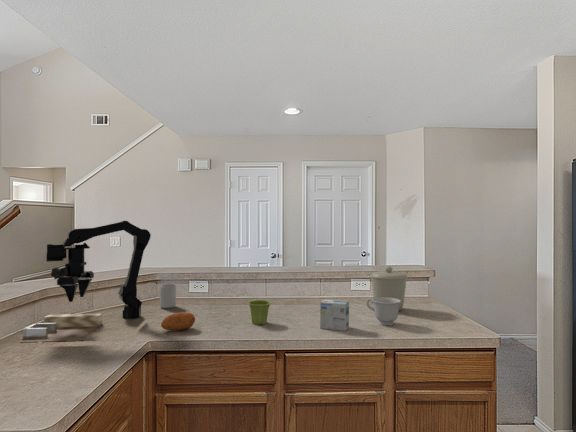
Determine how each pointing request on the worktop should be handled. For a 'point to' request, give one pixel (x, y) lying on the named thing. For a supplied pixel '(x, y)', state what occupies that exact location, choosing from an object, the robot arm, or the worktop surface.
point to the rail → (74, 320)
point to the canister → (389, 284)
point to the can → (168, 295)
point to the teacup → (385, 309)
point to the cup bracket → (39, 330)
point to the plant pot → (259, 311)
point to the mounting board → (66, 333)
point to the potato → (178, 321)
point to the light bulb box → (334, 314)
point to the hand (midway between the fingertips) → (76, 299)
